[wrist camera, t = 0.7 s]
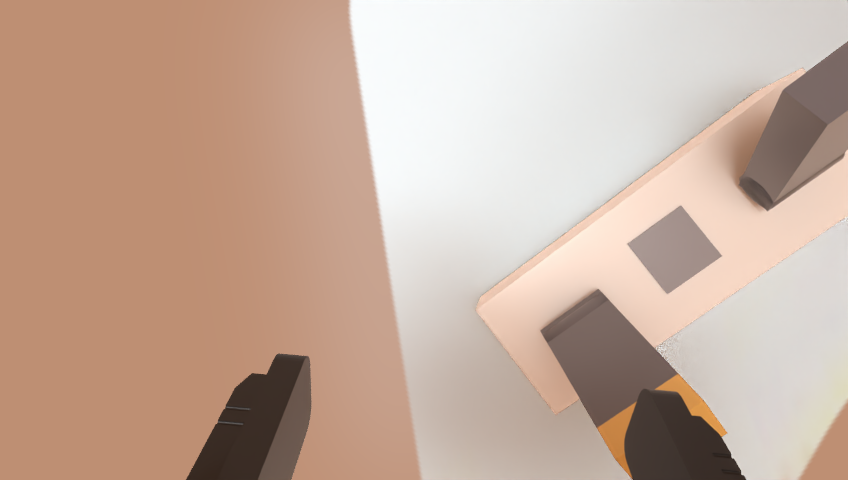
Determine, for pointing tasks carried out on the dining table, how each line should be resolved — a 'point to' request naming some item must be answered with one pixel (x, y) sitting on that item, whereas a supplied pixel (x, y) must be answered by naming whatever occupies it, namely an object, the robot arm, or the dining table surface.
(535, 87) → the dining table surface
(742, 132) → the beige lever base
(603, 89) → the dining table surface
